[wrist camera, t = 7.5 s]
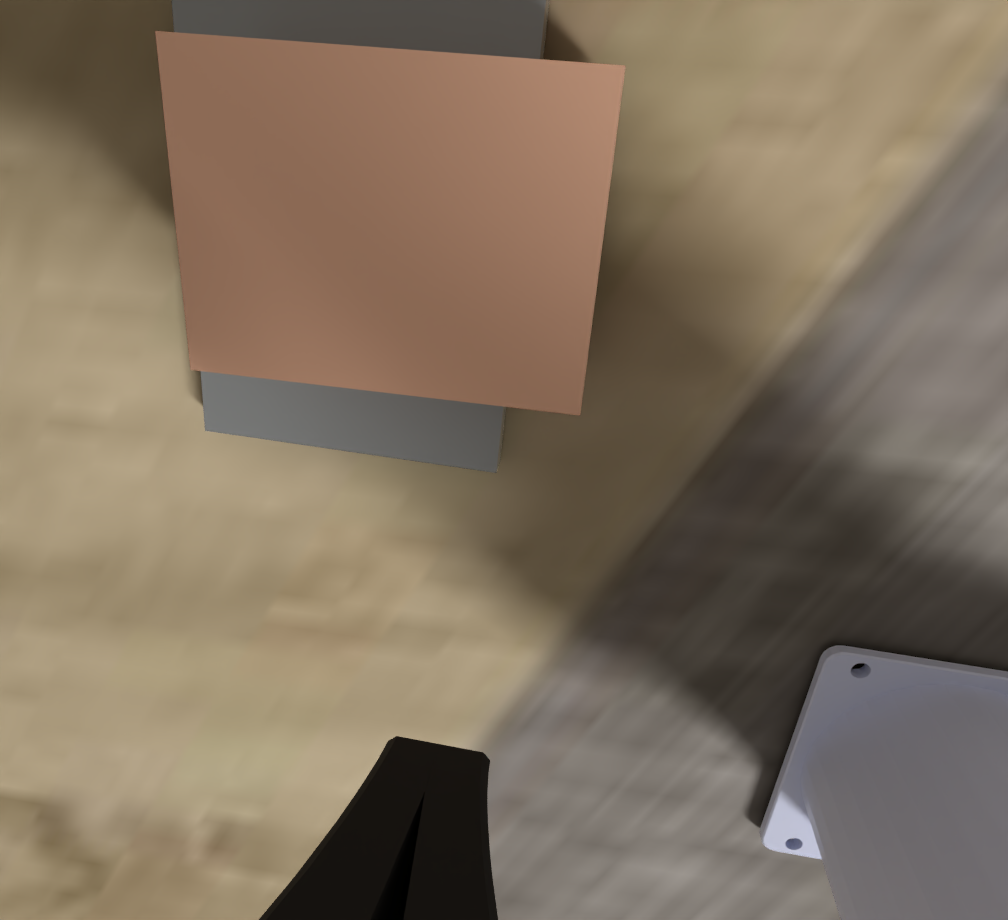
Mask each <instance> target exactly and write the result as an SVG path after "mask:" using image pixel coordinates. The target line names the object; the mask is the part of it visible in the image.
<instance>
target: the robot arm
mask: <svg viewBox="0 0 1008 920" xmlns="http://www.w3.org/2000/svg"><path fill="white" fill-rule="evenodd" d="M858 663H865V665H864V666H863V667H861V668H859V669H852V667H853V666H854V665H856V664H858ZM489 764H490V760H489V759H488V758H487V756H486V755H485V754H484V753H483V752H478V751H472V750H467V749H462V748H456V747H451V746H446V745H440V744H435V743H430V742H425V741H419V740H414V739H409V738H403V737H398V736H396V737H395V738H393V739H391V740H389V741H388V742H387V744H386V746H385V748H384V750H383V751H382V753H381V755H380V757H379V759H378V760H377V762H376V763H375V765H374V767H373V768H372V770H371V772H370V773H369V775H368V776H367V778H366V779H365V781H364V783H363V784H362V786H361V787H360V789H359V790H358V792H357V793H356V795H355V796H354V797H353V799H352V800H351V802H350V803H349V805H348V806H347V807H346V809H345V810H344V812H343V813H342V815H341V816H340V817H339V819H338V820H337V822H336V823H335V824H334V826H333V827H332V828H331V830H330V831H329V832H328V834H327V835H326V836H325V838H324V839H323V840H322V842H321V843H320V844H319V846H318V847H317V848H316V850H315V851H314V852H313V853H312V855H311V856H310V857H309V859H308V860H307V861H306V863H305V864H304V865H303V867H302V868H301V869H300V871H299V872H298V873H297V874H296V876H295V877H294V878H293V879H292V881H291V882H290V883H289V884H288V886H287V887H286V888H285V889H284V890H283V892H282V893H281V894H280V895H279V896H278V897H277V899H276V900H275V901H274V902H273V903H272V905H271V906H270V907H269V908H268V909H267V911H266V912H265V913H264V914H263V915H262V917H261V918H260V919H259V920H498V916H497V909H496V901H495V894H494V886H493V879H492V870H491V860H490V849H489V833H488V813H487V788H488V772H489ZM760 837H761V841H762V843H763V845H764V846H765V847H767V848H768V849H771V850H774V851H778V852H784V853H789V854H795V855H800V856H806V857H811V858H817V859H822V861H823V864H824V867H825V870H826V874H827V877H828V880H829V883H830V886H831V890H832V893H833V896H834V899H835V902H836V905H837V909H838V912H839V915H840V918H841V920H1008V671H1001V670H995V669H989V668H982V667H976V666H970V665H963V664H957V663H951V662H945V661H938V660H932V659H926V658H919V657H913V656H907V655H900V654H894V653H888V652H881V651H875V650H869V649H862V648H856V647H850V646H839V645H836V646H833V647H830V648H828V649H827V650H825V651H824V652H823V654H822V655H821V657H820V659H819V662H818V665H817V668H816V671H815V674H814V677H813V679H812V682H811V685H810V688H809V691H808V694H807V696H806V699H805V702H804V705H803V708H802V711H801V713H800V716H799V719H798V722H797V725H796V728H795V730H794V733H793V736H792V739H791V742H790V745H789V748H788V750H787V753H786V756H785V759H784V762H783V765H782V767H781V770H780V773H779V776H778V779H777V782H776V784H775V787H774V790H773V793H772V796H771V799H770V801H769V804H768V807H767V810H766V813H765V816H764V819H763V821H762V824H761V827H760ZM791 838H794V839H791Z"/></svg>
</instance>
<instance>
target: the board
mask: <svg viewBox="0 0 1008 920" xmlns="http://www.w3.org/2000/svg"><path fill="white" fill-rule="evenodd" d="M549 1H550V0H172V12H173V24H174V32H178V33H191V34H205V35H218V36H232V37H245V38H259V39H272V40H286V41H300V42H313V43H327V44H340V45H354V46H367V47H381V48H394V49H408V50H421V51H435V52H449V53H462V54H476V55H489V56H503V57H516V58H530V59H543V57H544V48H545V38H546V29H547V20H548V10H549ZM201 383H202V396H203V409H204V422H205V431H211V432H218V433H225V434H232V435H239V436H246V437H253V438H260V439H266V440H273V441H280V442H287V443H294V444H301V445H308V446H315V447H321V448H328V449H335V450H342V451H349V452H356V453H363V454H370V455H377V456H383V457H390V458H397V459H404V460H411V461H418V462H425V463H432V464H438V465H445V466H452V467H459V468H466V469H473V470H480V471H487V472H494V473H497V470H498V467H499V464H500V460H501V451H502V441H503V432H504V423H505V413H506V407H503V406H494V405H486V404H477V403H469V402H460V401H452V400H443V399H435V398H426V397H418V396H409V395H401V394H392V393H384V392H375V391H366V390H358V389H349V388H341V387H332V386H324V385H315V384H307V383H298V382H290V381H281V380H273V379H264V378H256V377H247V376H239V375H230V374H222V373H213V372H204V371H201Z"/></svg>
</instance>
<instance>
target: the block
mask: <svg viewBox="0 0 1008 920" xmlns="http://www.w3.org/2000/svg"><path fill="white" fill-rule="evenodd" d="M155 34H156V44H157V53H158V63H159V72H160V82H161V92H162V101H163V111H164V120H165V130H166V139H167V149H168V159H169V168H170V178H171V187H172V197H173V206H174V216H175V225H176V235H177V245H178V254H179V264H180V273H181V283H182V292H183V302H184V311H185V321H186V331H187V340H188V350H189V359H190V369H191V370H196V371H204V372H213V373H222V374H230V375H239V376H247V377H256V378H264V379H273V380H281V381H290V382H298V383H307V384H315V385H324V386H332V387H341V388H349V389H358V390H366V391H375V392H384V393H392V394H401V395H409V396H418V397H426V398H435V399H443V400H452V401H460V402H469V403H477V404H486V405H494V406H503V407H511V408H520V409H528V410H537V411H546V412H554V413H563V414H571V415H580V414H581V406H582V398H583V390H584V383H585V375H586V367H587V360H588V352H589V344H590V336H591V329H592V321H593V313H594V306H595V298H596V290H597V283H598V275H599V267H600V259H601V252H602V244H603V236H604V229H605V221H606V213H607V205H608V198H609V190H610V182H611V175H612V167H613V159H614V151H615V144H616V136H617V128H618V121H619V113H620V105H621V98H622V90H623V82H624V74H625V67H626V66H625V65H611V64H598V63H584V62H571V61H557V60H543V59H530V58H516V57H503V56H489V55H476V54H462V53H449V52H435V51H421V50H408V49H394V48H381V47H367V46H354V45H340V44H327V43H313V42H300V41H286V40H272V39H259V38H245V37H232V36H218V35H205V34H191V33H178V32H164V31H155Z"/></svg>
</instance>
